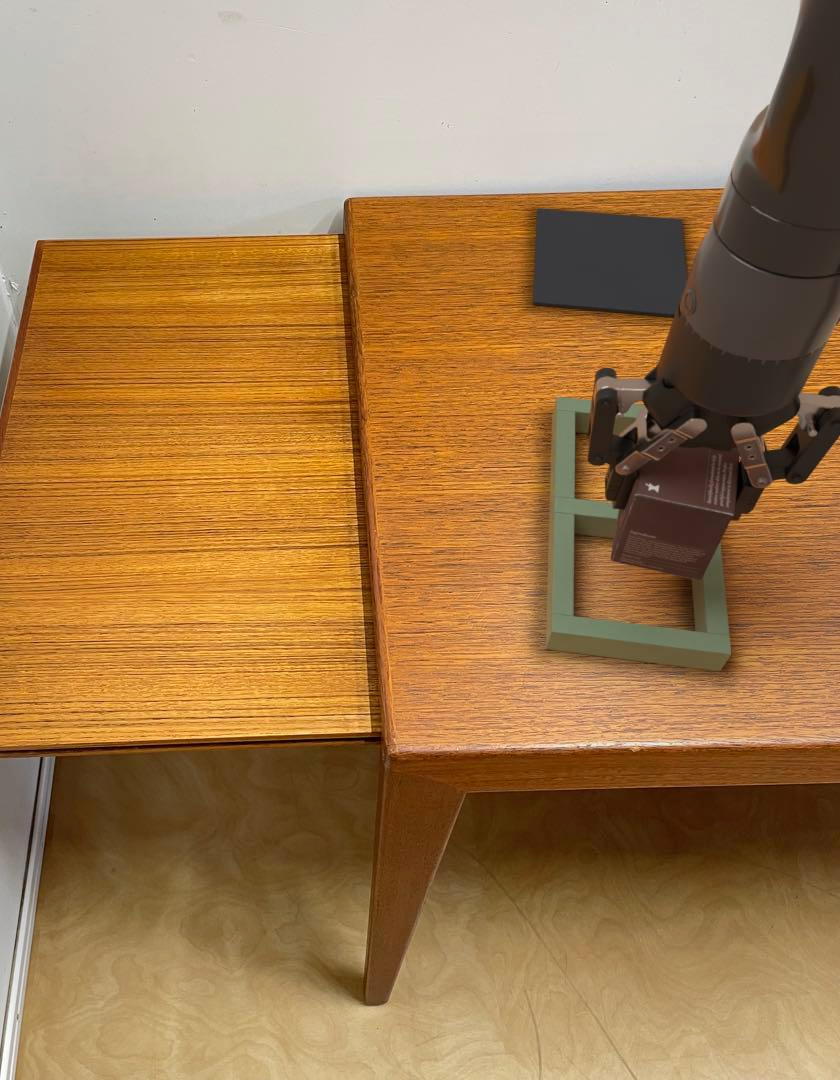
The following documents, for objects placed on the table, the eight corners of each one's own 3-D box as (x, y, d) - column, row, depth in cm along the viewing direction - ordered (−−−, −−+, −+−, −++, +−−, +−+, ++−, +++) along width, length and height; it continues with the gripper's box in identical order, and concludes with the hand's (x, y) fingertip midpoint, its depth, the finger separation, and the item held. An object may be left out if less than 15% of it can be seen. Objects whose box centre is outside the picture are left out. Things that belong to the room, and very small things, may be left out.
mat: (680, 222, 98) (682, 219, 97) (689, 319, 90) (690, 315, 89) (537, 211, 99) (537, 208, 99) (532, 305, 91) (533, 301, 91)
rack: (551, 416, 83) (557, 396, 81) (699, 431, 82) (708, 411, 80) (545, 649, 70) (551, 631, 68) (720, 671, 69) (731, 654, 67)
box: (700, 584, 65) (735, 517, 59) (607, 563, 66) (632, 494, 60) (709, 514, 68) (743, 443, 62) (620, 495, 70) (645, 423, 64)
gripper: (893, 268, 52) (781, 471, 66) (613, 249, 54) (560, 450, 67) (922, 368, 48) (796, 563, 61) (616, 344, 50) (559, 539, 63)
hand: (673, 503), depth 64 cm, fingers closed on box, 6 cm apart
